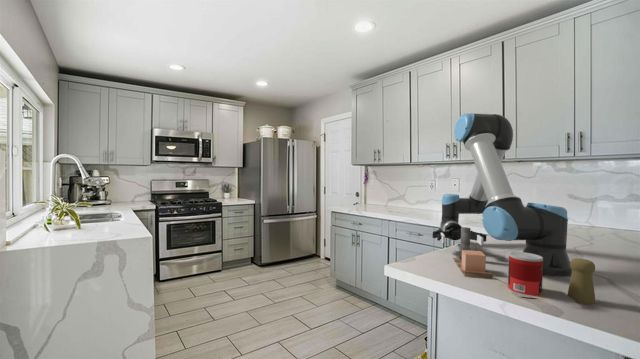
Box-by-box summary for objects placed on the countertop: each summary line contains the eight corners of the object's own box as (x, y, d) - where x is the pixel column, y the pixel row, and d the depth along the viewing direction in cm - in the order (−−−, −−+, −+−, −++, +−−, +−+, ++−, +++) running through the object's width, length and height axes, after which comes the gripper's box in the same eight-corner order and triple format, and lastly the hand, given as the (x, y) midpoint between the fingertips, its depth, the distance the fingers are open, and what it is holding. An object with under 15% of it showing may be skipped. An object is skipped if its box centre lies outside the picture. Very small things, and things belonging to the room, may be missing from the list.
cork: (560, 295, 86) (562, 256, 86) (581, 295, 87) (582, 256, 86) (581, 305, 80) (582, 263, 80) (602, 304, 81) (604, 262, 80)
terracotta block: (461, 267, 107) (461, 249, 107) (480, 268, 105) (480, 251, 105) (465, 272, 101) (465, 254, 101) (485, 274, 99) (485, 255, 99)
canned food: (547, 301, 82) (549, 260, 82) (514, 298, 84) (515, 258, 84) (533, 290, 90) (535, 252, 89) (503, 287, 91) (504, 250, 91)
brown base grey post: (452, 260, 119) (453, 226, 118) (475, 262, 117) (476, 227, 116) (464, 280, 97) (465, 238, 97) (492, 282, 95) (493, 240, 95)
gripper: (483, 240, 136) (498, 253, 115) (423, 236, 142) (428, 247, 121) (484, 223, 135) (499, 233, 115) (424, 220, 142) (428, 228, 121)
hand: (462, 240), depth 118 cm, fingers open, 13 cm apart
